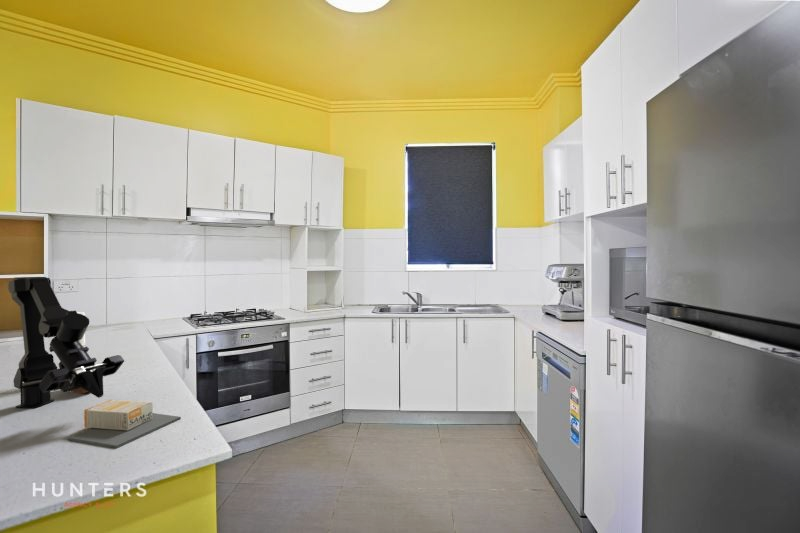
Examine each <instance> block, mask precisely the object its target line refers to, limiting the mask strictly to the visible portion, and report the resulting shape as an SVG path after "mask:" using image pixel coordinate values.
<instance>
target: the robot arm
mask: <svg viewBox="0 0 800 533" xmlns="http://www.w3.org/2000/svg"><path fill="white" fill-rule="evenodd" d="M51 284H52V283H51V278H50V277H46V276H23V277H22V276H21V277H20V276H19V277H14V278H13V279H12V280H10V281H8V286H7V287H8V292H9V293H10V294H11V295H10V296H11V300H12V301H13V302H15V303H16V304H17V305H18V306H19V308H20V318H21V328H22V337H23V338H22V339H23V347H24V349H23V350H24V354H23V356H22V358H20V360H19V362H18V368H17V370H16V373H15V375H14V377H13V387H14V388H15V389H17V390H20V404H18V405H15V408H16V409H17V408H18V409H19V408H21V409H23V408H24V409H35V408H38V407H42V406H43V405H46V404H50V403H52V402H54V401H55V399H54V398H51V392H54V391H57V390H60V391H61V392H63V393H68V392H70V390H74V389H78V388H82V389H85V390H86V391H88V392H87V393H89V394H92V395H93V396H95V397H96V398H102V397H103V396H104V377H107V376H111V375H114V374H115V373H116V372H117V371H118V370H119V369H120V368H121V366H123V363H124V362H125V359H124V358H123V357H122V355H119V354H118V355H112V356H108V357H105V358H104V359H103V361H102V362H101V363H99V364H96V362H97V358H96V357H90V355H89V353H88V351H89V350H90V348H89V347H88V346H85V347H83V346H82V345H81V343H80V342H79V340H81V339H82V338H83V336H84V334H85V335H86V331H87V329H88V327H89V325H90V319H89V317H88V316H86V315H85V316H84V315H82V314H78V313H77V312H78V311H77V310H67V309H65V308H64V307H62V306H61V304H60V302H59V299H58V298H57V295H56V293H55V292H54V290H53V287H52V285H51ZM44 338H52V339H51V340H50V343H49V348H48V349H49V352H50V353H49V352H48V351H47V350H46V347H45V339H44ZM52 352H53V353H54V354H55V355H56V357H57V358H58V360H59V363H58V364H56V363H55V361H54V355H53V354H52Z"/></svg>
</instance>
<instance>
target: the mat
mask: <svg viewBox="0 0 800 533" xmlns="http://www.w3.org/2000/svg"><path fill="white" fill-rule="evenodd" d="M181 419H182V418H181V416H177V415H170V414H162V413H155V412H152V419H151V420H148V421H146V422H144V423H142V424H140V425H138V426H136V427H134V428H132V429H130V430H114V429H100V428H88V429H86V430H84V431H81V432H79V433H76V434H74V435H71V436H68V439H67V440H68V441H74V442H80V443H85V444H91V445H96V446H101V447H108V448H114V449H118V448H121V447H122V446H125V445H127V444H129V443H131V442H134V441H135V440H138V439H140V438H142V437H144V436H146V435H149V434H151V433H153V432H156V431H158V430H159V429H163V428H164V427H166V426H168V425H171V424H172V423H174V422H177V421H180V420H181Z"/></svg>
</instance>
